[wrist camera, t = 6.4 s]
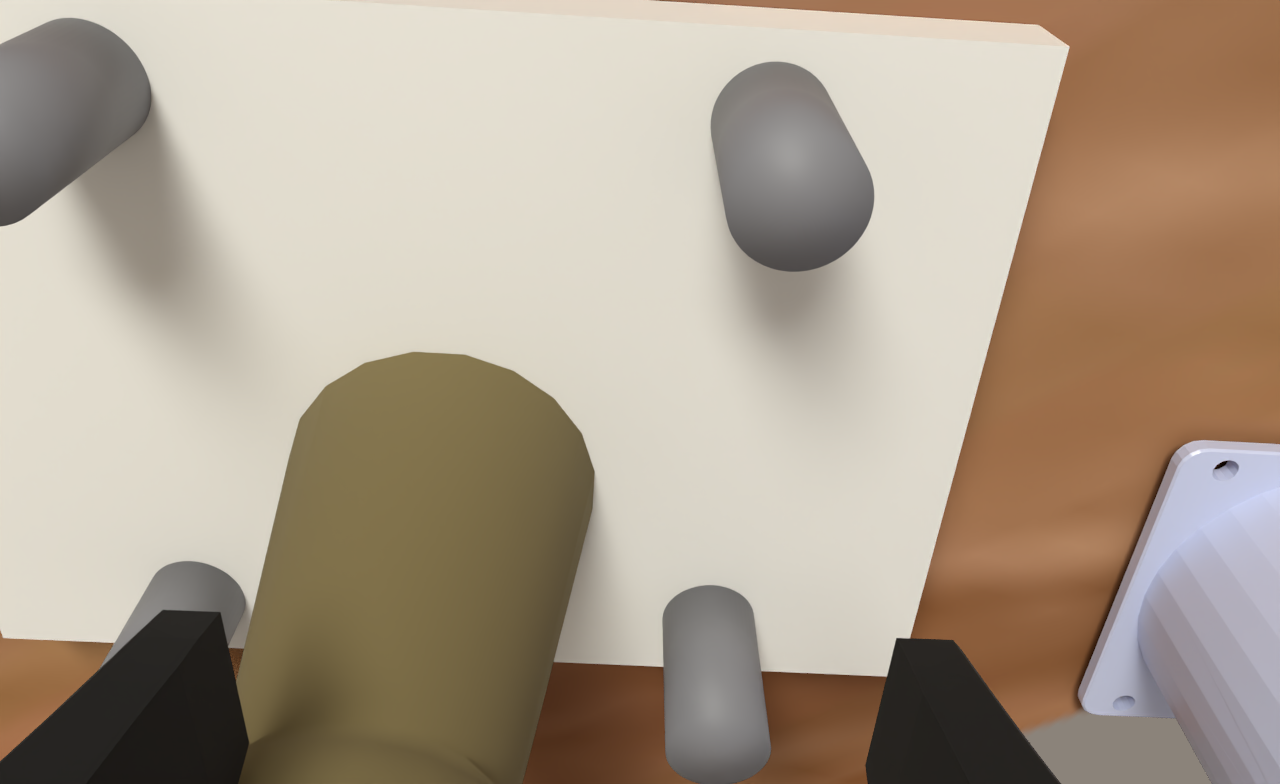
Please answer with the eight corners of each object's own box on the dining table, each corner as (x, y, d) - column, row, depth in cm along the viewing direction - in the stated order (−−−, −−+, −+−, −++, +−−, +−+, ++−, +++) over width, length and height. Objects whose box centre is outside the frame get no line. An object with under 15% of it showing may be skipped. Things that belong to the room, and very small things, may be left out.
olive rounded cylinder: (509, 634, 23) (430, 1244, 14) (244, 525, 21) (-52, 1134, 12) (652, 438, 20) (676, 1030, 11) (362, 296, 19) (98, 851, 9)
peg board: (1038, 24, 18) (1164, 113, 13) (886, 629, 25) (936, 811, 21) (-172, -53, 17) (-443, 15, 13) (36, 591, 24) (-91, 769, 20)
